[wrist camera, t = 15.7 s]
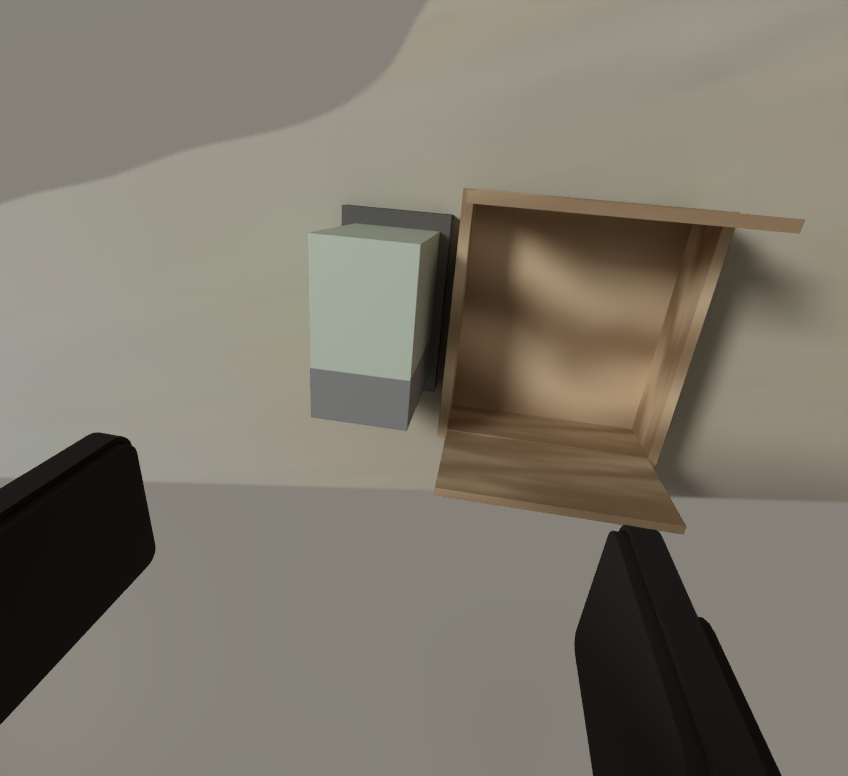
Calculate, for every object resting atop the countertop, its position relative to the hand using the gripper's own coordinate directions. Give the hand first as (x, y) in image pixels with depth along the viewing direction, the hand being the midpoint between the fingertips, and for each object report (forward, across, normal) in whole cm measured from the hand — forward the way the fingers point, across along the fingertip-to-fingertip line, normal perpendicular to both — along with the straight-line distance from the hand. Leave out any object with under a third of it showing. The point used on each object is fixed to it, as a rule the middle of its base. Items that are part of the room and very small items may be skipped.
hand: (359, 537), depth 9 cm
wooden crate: (+24, -7, +2) cm, 25 cm away
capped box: (+23, +4, +2) cm, 24 cm away
